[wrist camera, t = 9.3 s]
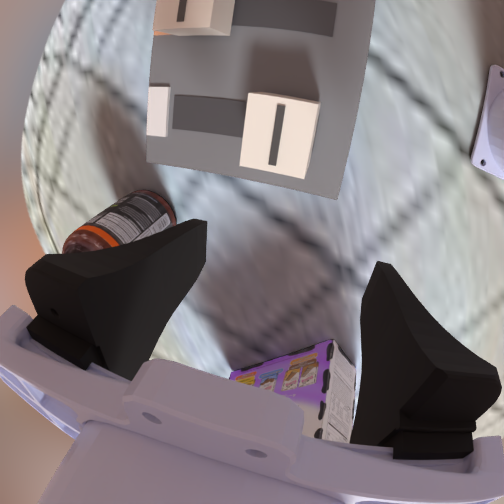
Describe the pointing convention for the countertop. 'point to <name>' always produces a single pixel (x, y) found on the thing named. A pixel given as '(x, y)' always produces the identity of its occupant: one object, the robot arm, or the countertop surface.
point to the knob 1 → (194, 17)
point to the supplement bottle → (122, 223)
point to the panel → (260, 86)
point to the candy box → (312, 387)
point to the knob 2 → (279, 133)
